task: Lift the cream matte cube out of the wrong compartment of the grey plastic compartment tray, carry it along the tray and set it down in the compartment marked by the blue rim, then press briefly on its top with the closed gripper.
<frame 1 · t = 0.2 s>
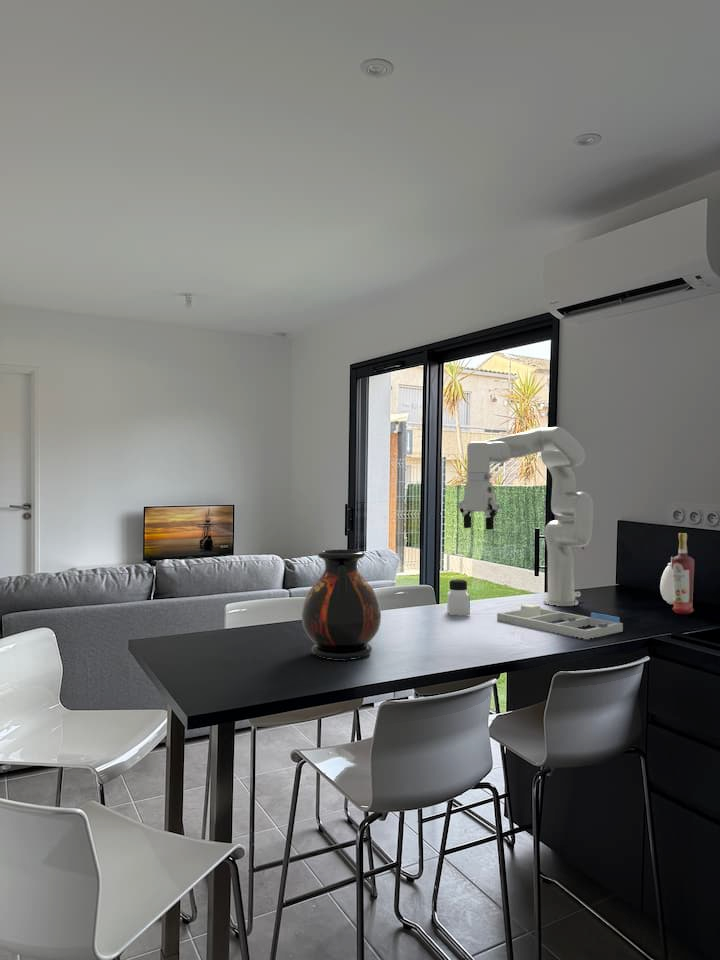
hand: (478, 528, 239), 31 cm above the counter, tool pointing down, fingers open, 9 cm apart
cream matte cube: (530, 620, 236), resting in compartment tray
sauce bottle: (671, 604, 264), on the counter
medicine bottle: (458, 614, 248), on the counter
liquor: (683, 613, 246), on the counter
amphora vase: (341, 654, 192), on the counter
compartment tray: (557, 625, 227), on the counter
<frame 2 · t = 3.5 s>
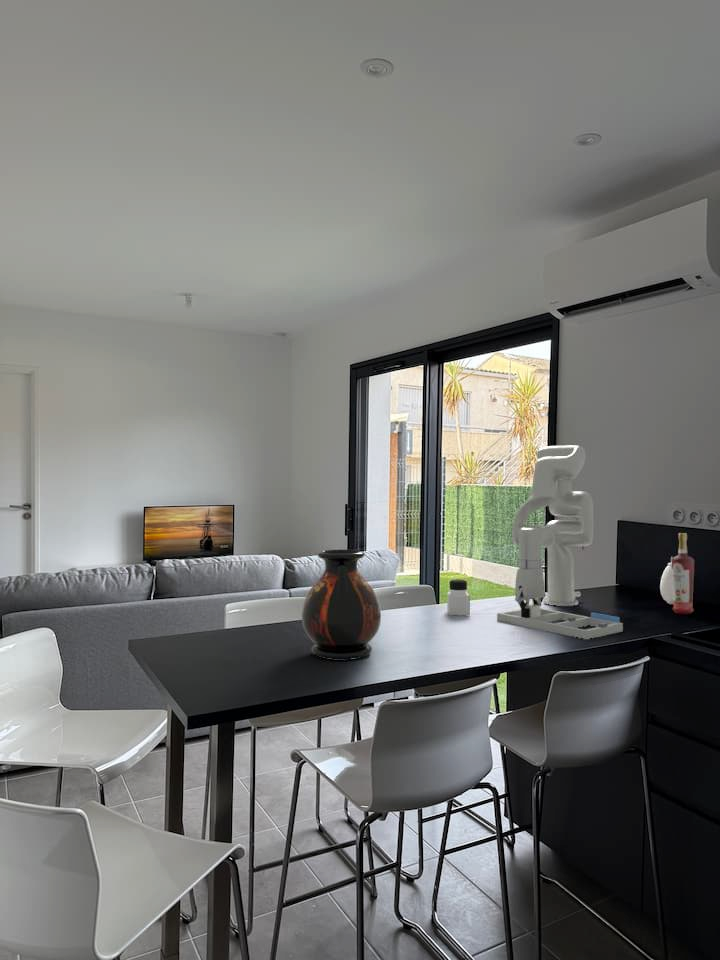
hand: (530, 618, 236), 1 cm above the counter, tool pointing down, fingers closed on cream matte cube, 4 cm apart
cream matte cube: (530, 620, 236), resting in compartment tray, touching gripper
everything else where it was.
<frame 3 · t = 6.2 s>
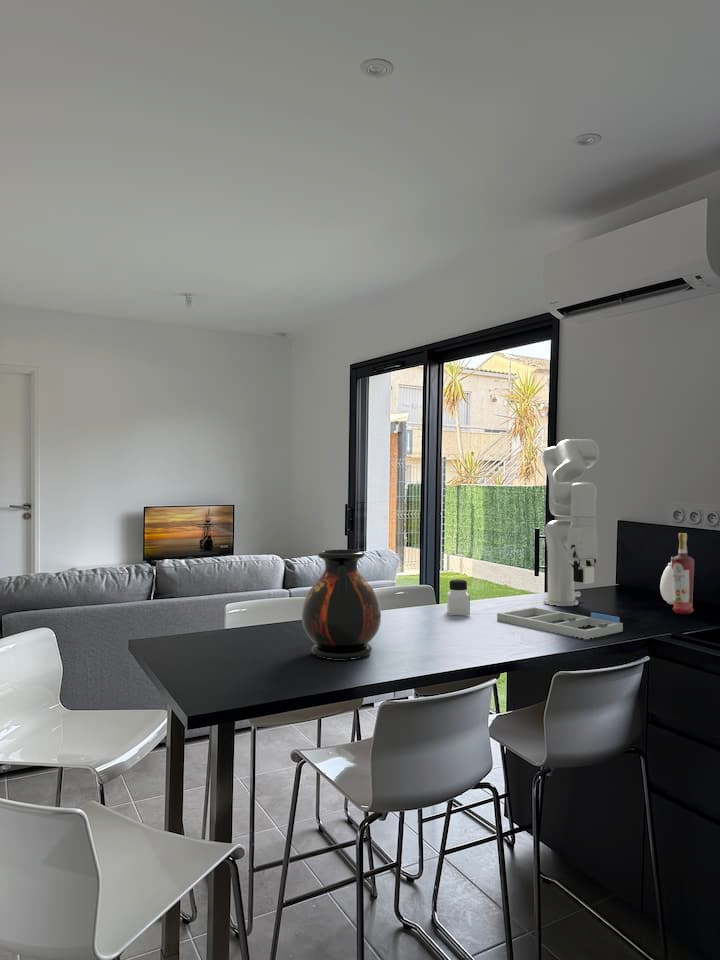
hand: (583, 580, 219), 16 cm above the counter, tool pointing down, fingers closed on cream matte cube, 4 cm apart
cream matte cube: (583, 582, 219), point 15 cm above the counter, touching gripper
everything else where it was.
when the fingers open (2 cm above the counter, at t = 9.2 s): cream matte cube drops 1 cm, resting in compartment tray.
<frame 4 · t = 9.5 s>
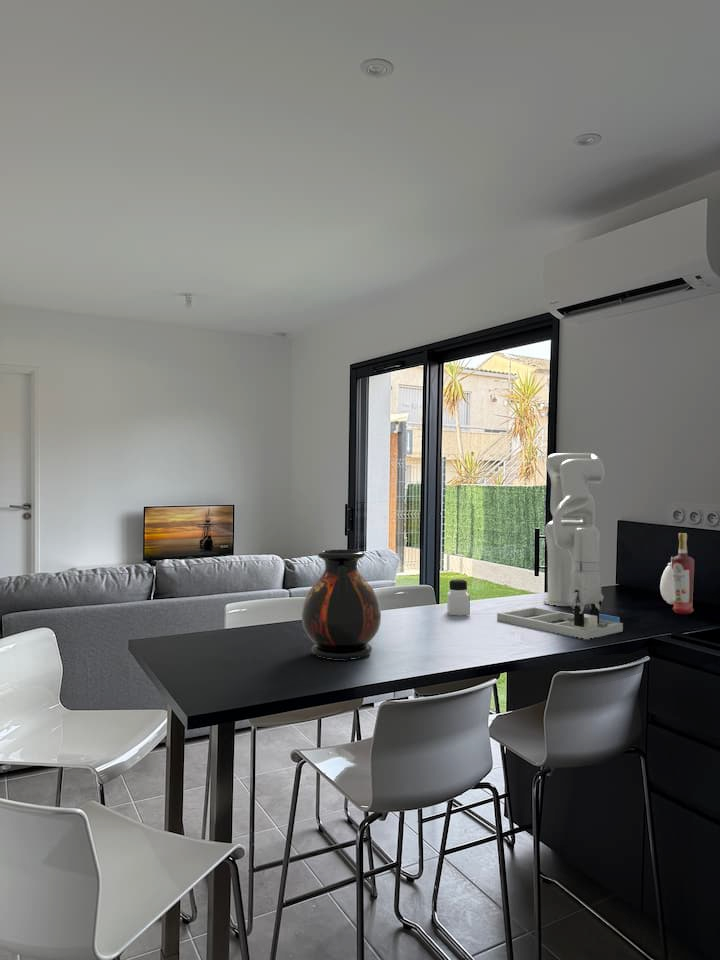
hand: (586, 624, 218), 2 cm above the counter, tool pointing down, fingers open, 7 cm apart
cream matte cube: (586, 631, 218), resting in compartment tray
everything else where it was.
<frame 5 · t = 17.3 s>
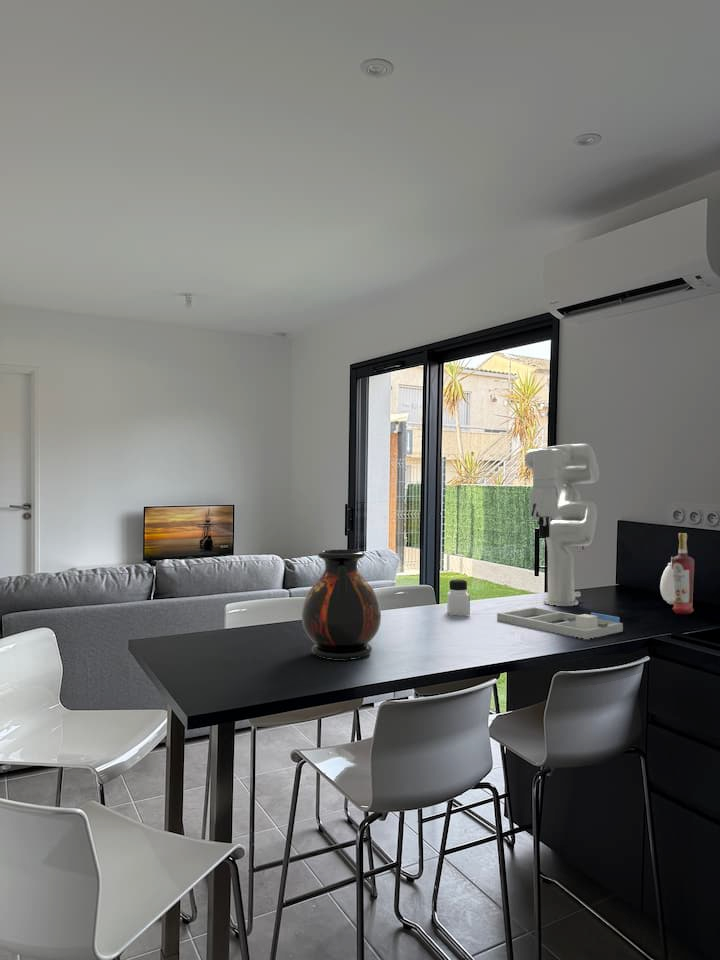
hand: (544, 537, 244), 27 cm above the counter, tool pointing down, fingers closed
nothing on the counter moved.
at the end: cream matte cube inside the target area on the compartment tray (0.0 cm from its centre), point 0.0 cm above the compartment tray's base; cream matte cube tilted 0°; the gripper is holding nothing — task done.
